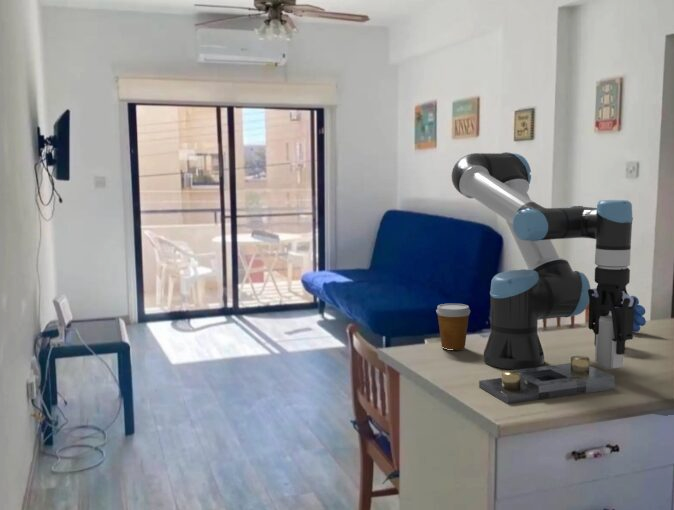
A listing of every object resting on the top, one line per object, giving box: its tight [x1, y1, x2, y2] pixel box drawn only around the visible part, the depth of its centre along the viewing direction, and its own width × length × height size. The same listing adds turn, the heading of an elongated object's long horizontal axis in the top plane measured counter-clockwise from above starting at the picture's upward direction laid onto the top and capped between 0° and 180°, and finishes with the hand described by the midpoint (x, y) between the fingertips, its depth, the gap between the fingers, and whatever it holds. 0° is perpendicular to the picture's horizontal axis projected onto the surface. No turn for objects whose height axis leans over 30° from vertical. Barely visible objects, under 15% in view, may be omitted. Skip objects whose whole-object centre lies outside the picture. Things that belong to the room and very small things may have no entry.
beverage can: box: [597, 315, 621, 370], centre depth 152 cm, size 5×5×12 cm
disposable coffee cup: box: [435, 303, 471, 351], centre depth 181 cm, size 10×10×12 cm
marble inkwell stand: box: [478, 355, 616, 405], centre depth 145 cm, size 12×27×6 cm, turn 107°
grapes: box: [615, 292, 647, 333], centre depth 196 cm, size 12×7×12 cm, turn 33°
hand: (608, 363), depth 153 cm, fingers closed on beverage can, 5 cm apart
